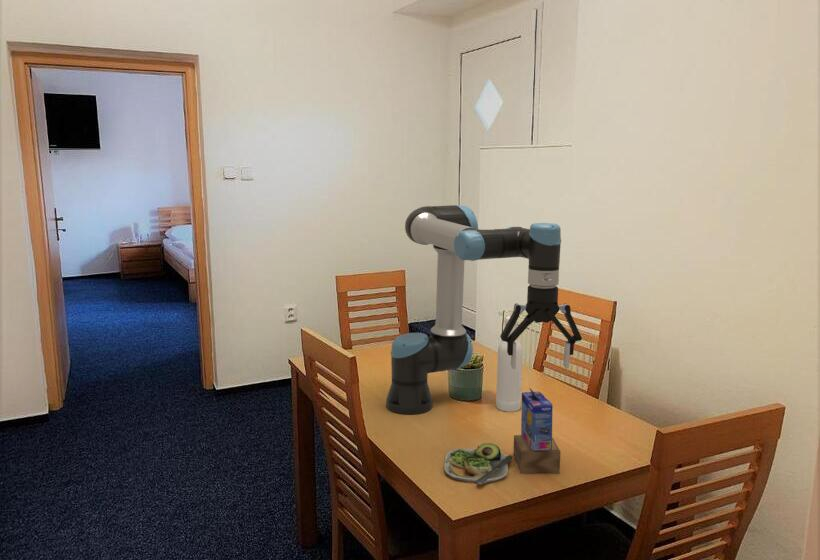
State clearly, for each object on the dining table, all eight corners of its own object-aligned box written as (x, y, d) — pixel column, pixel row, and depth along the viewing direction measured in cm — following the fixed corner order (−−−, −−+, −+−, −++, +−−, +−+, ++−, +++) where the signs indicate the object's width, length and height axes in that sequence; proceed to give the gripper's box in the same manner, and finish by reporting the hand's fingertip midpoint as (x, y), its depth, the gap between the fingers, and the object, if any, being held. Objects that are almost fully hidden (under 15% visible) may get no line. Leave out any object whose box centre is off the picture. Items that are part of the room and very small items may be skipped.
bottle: (525, 410, 206) (528, 319, 200) (502, 413, 203) (505, 321, 198) (513, 401, 213) (516, 313, 208) (492, 404, 211) (494, 315, 206)
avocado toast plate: (512, 493, 155) (513, 475, 154) (439, 487, 158) (439, 469, 157) (513, 457, 174) (513, 441, 173) (447, 452, 177) (447, 437, 176)
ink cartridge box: (519, 435, 172) (521, 383, 169) (539, 434, 173) (541, 382, 170) (531, 451, 162) (533, 396, 160) (552, 450, 163) (555, 395, 161)
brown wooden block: (520, 473, 164) (521, 450, 163) (513, 456, 174) (514, 434, 173) (559, 473, 164) (560, 450, 163) (550, 455, 174) (551, 434, 173)
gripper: (495, 288, 156) (493, 372, 160) (597, 288, 157) (592, 371, 161) (490, 282, 164) (488, 362, 168) (588, 282, 164) (583, 362, 168)
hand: (539, 367), depth 164 cm, fingers open, 13 cm apart
